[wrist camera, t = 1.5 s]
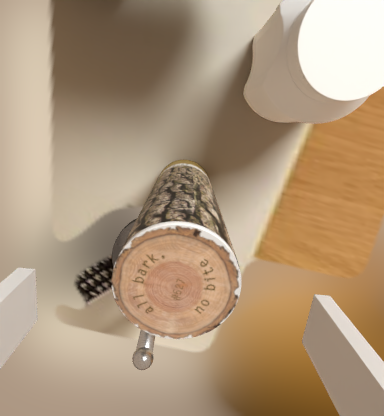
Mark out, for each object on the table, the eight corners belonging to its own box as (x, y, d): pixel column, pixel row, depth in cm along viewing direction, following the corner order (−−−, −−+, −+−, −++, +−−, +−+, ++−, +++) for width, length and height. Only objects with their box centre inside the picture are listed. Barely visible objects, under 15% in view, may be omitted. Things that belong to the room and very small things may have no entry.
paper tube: (152, 200, 40) (98, 322, 16) (166, 152, 38) (128, 207, 14) (200, 214, 40) (217, 351, 16) (215, 167, 38) (261, 246, 14)
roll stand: (115, 209, 40) (76, 256, 26) (209, 218, 40) (220, 269, 27) (112, 291, 44) (77, 370, 30) (198, 298, 44) (202, 380, 30)
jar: (258, 12, 33) (311, -70, 19) (338, 26, 34) (449, -42, 19) (238, 116, 37) (270, 113, 22) (311, 127, 37) (389, 133, 23)
